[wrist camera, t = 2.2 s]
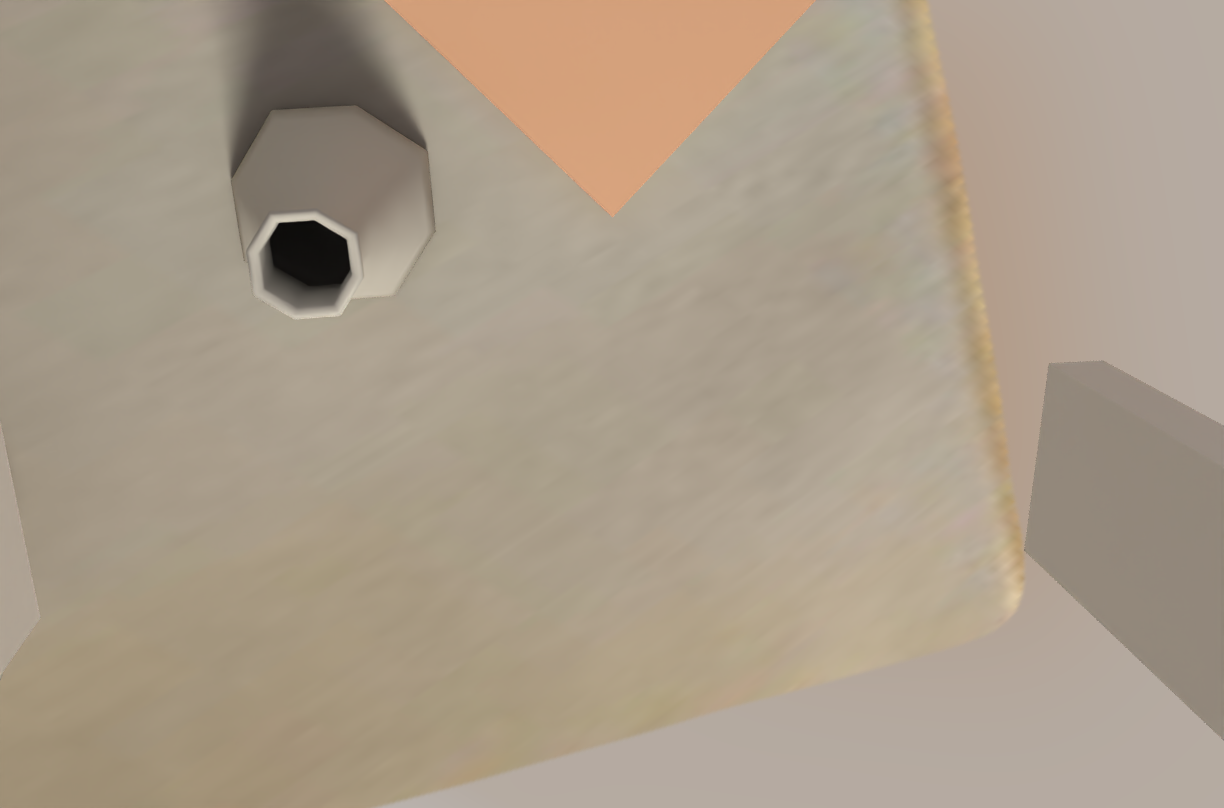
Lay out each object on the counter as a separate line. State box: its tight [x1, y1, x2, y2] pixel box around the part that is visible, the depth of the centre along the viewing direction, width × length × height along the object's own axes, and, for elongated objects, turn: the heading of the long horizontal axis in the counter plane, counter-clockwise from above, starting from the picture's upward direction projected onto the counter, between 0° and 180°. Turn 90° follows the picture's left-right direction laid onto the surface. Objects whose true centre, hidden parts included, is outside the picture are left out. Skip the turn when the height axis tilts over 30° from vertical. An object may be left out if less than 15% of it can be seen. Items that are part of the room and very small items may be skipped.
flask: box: [231, 105, 436, 319], centre depth 35 cm, size 7×7×10 cm
